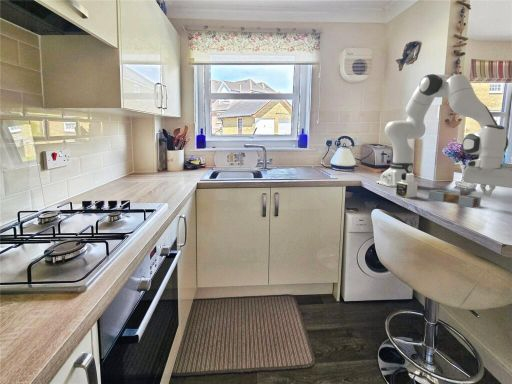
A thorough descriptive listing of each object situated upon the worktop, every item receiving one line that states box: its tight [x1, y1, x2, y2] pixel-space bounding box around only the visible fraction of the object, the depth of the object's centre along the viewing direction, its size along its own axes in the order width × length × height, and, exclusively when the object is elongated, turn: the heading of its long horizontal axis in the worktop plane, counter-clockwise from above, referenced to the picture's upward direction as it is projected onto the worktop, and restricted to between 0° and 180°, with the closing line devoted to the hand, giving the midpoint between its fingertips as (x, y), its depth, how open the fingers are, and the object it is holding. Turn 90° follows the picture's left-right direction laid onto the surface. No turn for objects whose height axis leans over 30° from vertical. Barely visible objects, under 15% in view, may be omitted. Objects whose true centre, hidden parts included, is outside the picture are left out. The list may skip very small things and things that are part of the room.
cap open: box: [457, 194, 482, 208], centre depth 152 cm, size 6×6×4 cm
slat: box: [442, 192, 478, 208], centre depth 157 cm, size 16×3×4 cm, turn 26°
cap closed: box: [428, 189, 453, 202], centre depth 165 cm, size 8×6×4 cm
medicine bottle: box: [395, 172, 419, 199], centre depth 172 cm, size 7×7×12 cm
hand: (486, 195), depth 145 cm, fingers closed
